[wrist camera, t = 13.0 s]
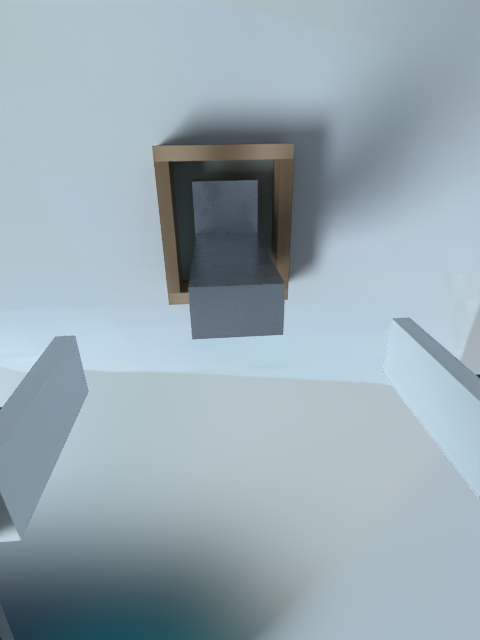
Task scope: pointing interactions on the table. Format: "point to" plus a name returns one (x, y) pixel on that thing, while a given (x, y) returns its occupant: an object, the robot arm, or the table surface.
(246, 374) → the table surface
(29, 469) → the robot arm
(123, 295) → the table surface
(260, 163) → the wooden frame
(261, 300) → the bracket
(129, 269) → the table surface
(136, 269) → the table surface
